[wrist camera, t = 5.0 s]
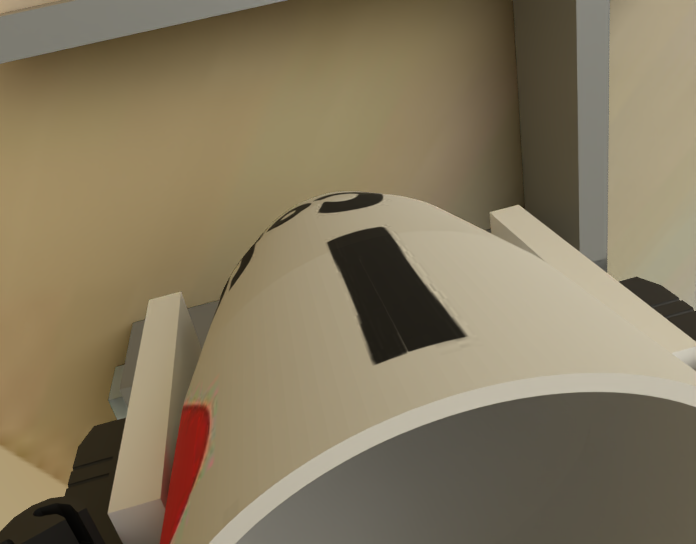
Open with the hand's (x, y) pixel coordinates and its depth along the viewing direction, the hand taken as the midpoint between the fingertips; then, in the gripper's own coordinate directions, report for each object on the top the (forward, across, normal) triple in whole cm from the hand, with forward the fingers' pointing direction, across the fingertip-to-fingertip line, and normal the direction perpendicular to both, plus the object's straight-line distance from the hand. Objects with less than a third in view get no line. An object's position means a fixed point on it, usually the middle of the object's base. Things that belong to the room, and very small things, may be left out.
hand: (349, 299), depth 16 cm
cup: (+1, 0, 0) cm, 1 cm away
